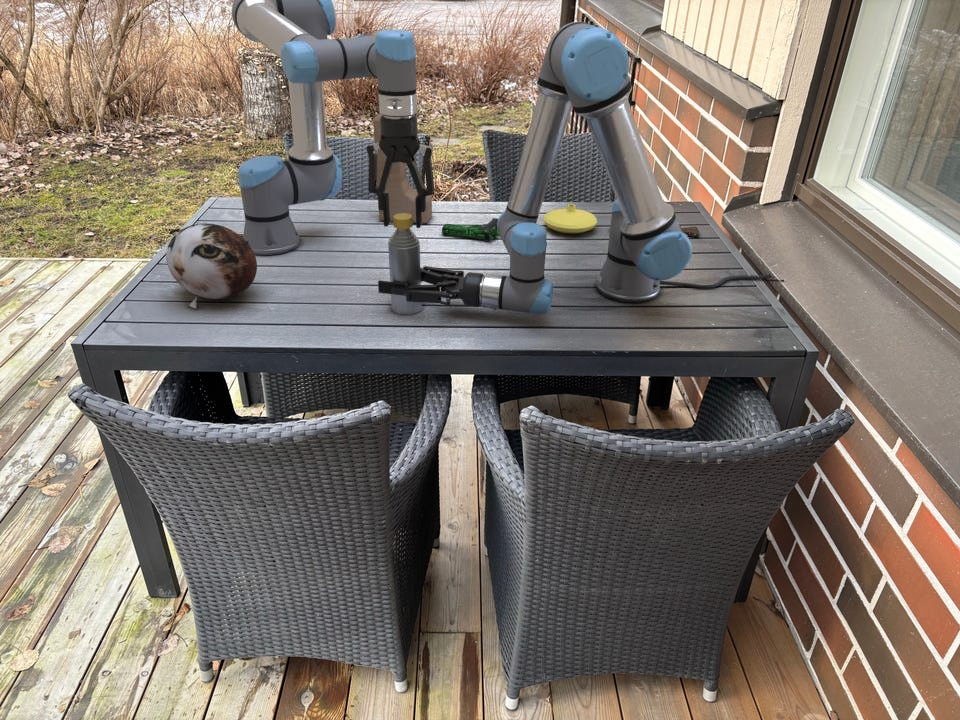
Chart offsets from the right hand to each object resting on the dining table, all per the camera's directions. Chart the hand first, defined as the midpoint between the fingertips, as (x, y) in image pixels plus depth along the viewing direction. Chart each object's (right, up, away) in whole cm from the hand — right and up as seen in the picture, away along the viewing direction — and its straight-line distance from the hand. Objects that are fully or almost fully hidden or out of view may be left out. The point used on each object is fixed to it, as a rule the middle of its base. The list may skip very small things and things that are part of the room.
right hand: (384, 279), depth 163 cm
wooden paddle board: (+73, +18, +46) cm, 88 cm away
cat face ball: (-40, -3, +6) cm, 41 cm away
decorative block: (-1, +24, +54) cm, 59 cm away
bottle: (+5, -6, +2) cm, 8 cm away
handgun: (+21, +19, +45) cm, 53 cm away
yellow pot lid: (+48, +20, +48) cm, 71 cm away
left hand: (+5, +11, -8) cm, 14 cm away
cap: (+5, +12, -9) cm, 16 cm away
